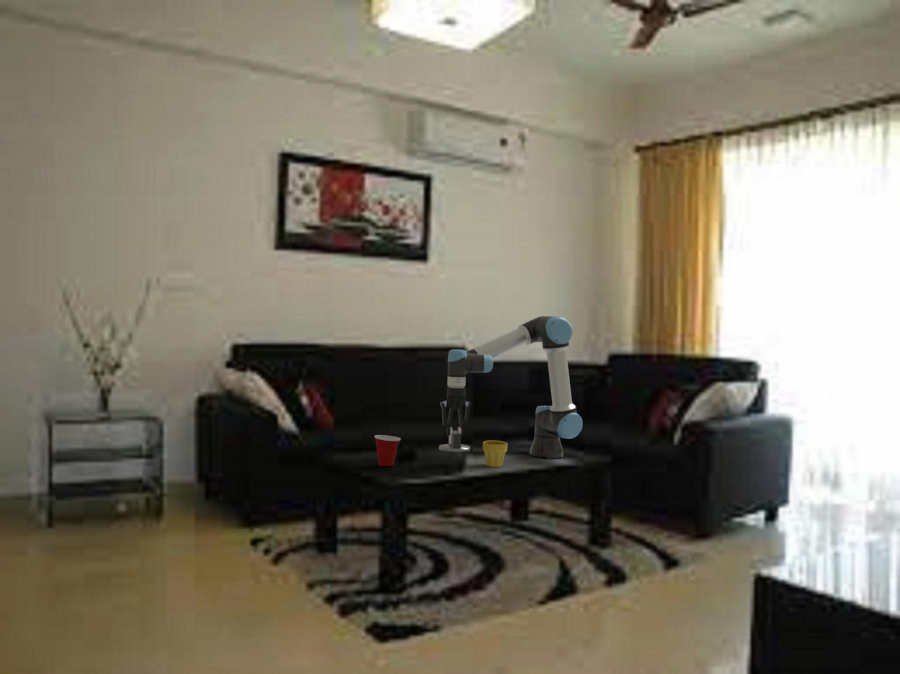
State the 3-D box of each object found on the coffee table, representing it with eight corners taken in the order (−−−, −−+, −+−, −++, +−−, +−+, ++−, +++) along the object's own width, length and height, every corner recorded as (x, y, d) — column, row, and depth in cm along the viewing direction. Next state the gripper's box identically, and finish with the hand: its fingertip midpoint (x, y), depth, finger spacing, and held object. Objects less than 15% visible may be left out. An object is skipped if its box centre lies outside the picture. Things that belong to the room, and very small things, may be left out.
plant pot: (504, 468, 332) (505, 445, 332) (480, 466, 334) (481, 443, 334) (507, 464, 342) (509, 441, 342) (484, 462, 344) (485, 439, 344)
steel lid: (465, 446, 342) (466, 429, 341) (473, 452, 329) (474, 434, 329) (436, 446, 339) (436, 429, 339) (442, 452, 326) (443, 434, 326)
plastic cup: (401, 468, 322) (402, 438, 322) (374, 468, 320) (375, 438, 320) (398, 463, 333) (399, 434, 332) (372, 463, 331) (373, 434, 331)
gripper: (439, 387, 327) (437, 444, 328) (477, 387, 331) (475, 444, 332) (435, 385, 335) (433, 441, 336) (472, 386, 338) (471, 441, 339)
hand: (454, 442), depth 334 cm, fingers closed on steel lid, 3 cm apart
